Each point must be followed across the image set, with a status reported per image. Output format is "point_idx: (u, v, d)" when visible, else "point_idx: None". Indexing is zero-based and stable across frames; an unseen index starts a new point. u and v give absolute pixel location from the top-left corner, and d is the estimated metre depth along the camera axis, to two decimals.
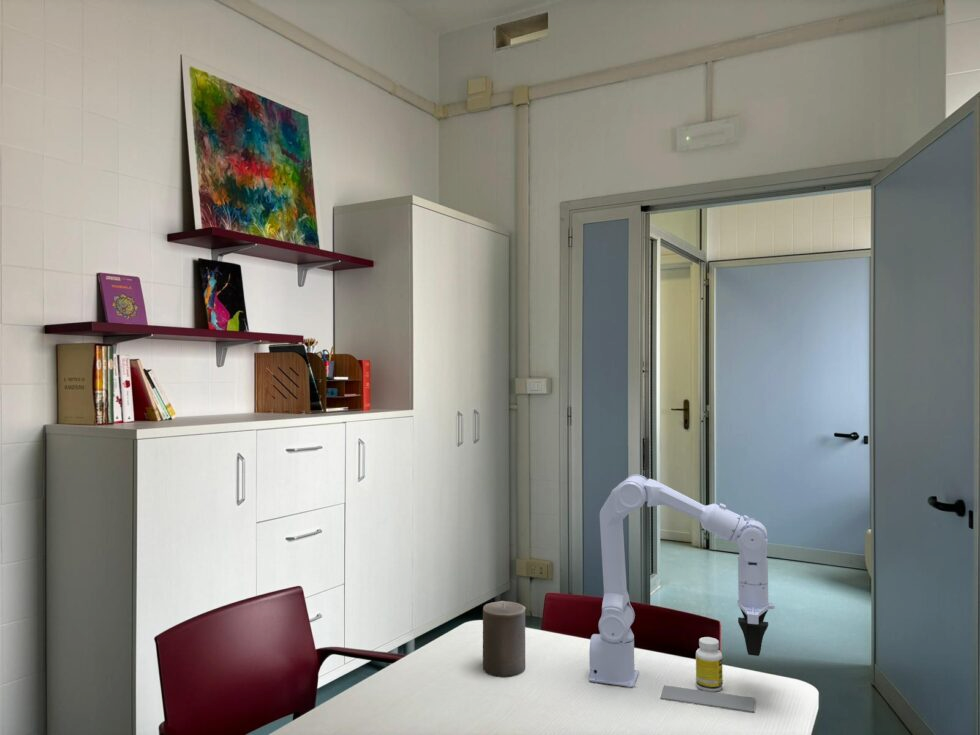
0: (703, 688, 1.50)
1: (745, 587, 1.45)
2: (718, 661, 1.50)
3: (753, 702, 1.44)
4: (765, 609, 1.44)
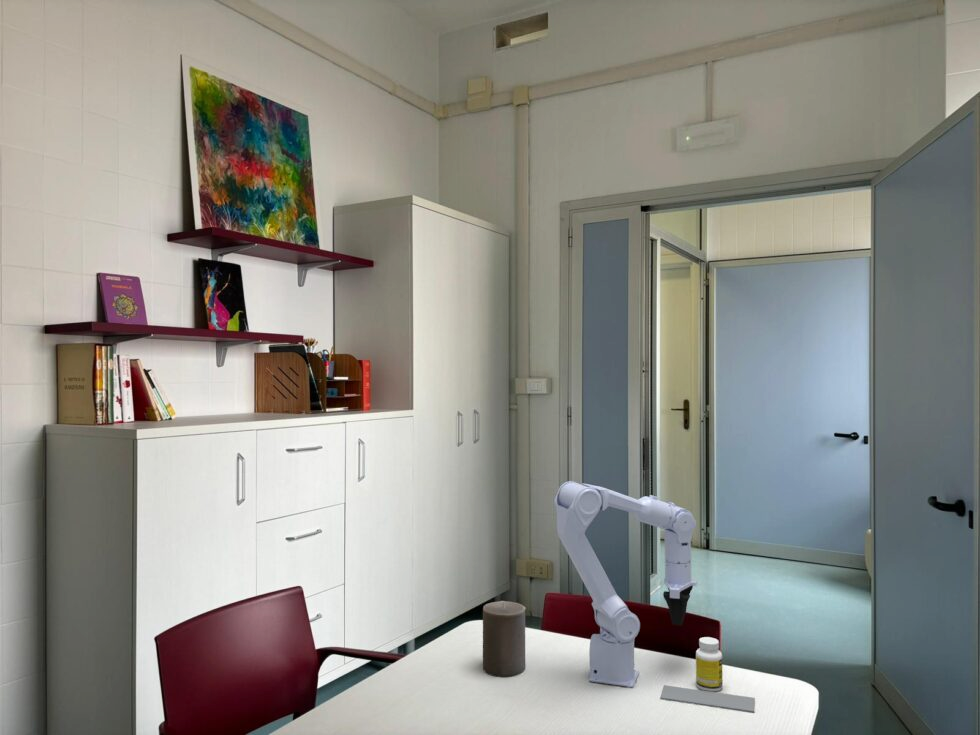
0: (703, 688, 1.50)
1: (670, 566, 1.60)
2: (718, 661, 1.50)
3: (753, 702, 1.44)
4: (687, 585, 1.59)
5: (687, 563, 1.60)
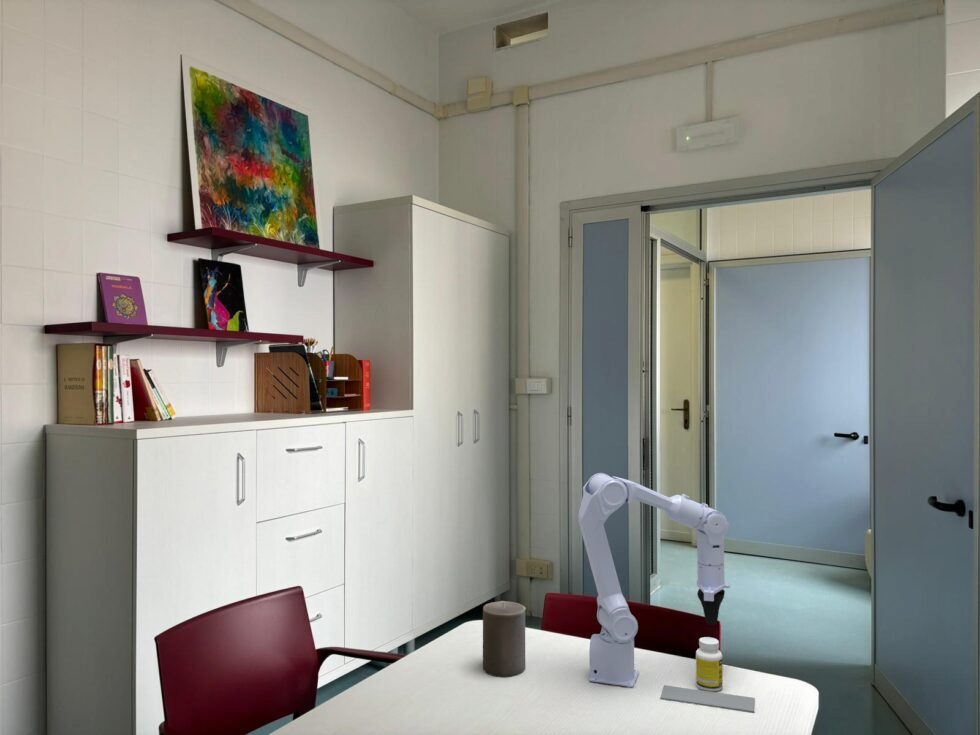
0: (703, 688, 1.50)
1: (703, 568, 1.59)
2: (718, 661, 1.50)
3: (753, 702, 1.44)
4: (721, 588, 1.57)
5: (720, 565, 1.58)
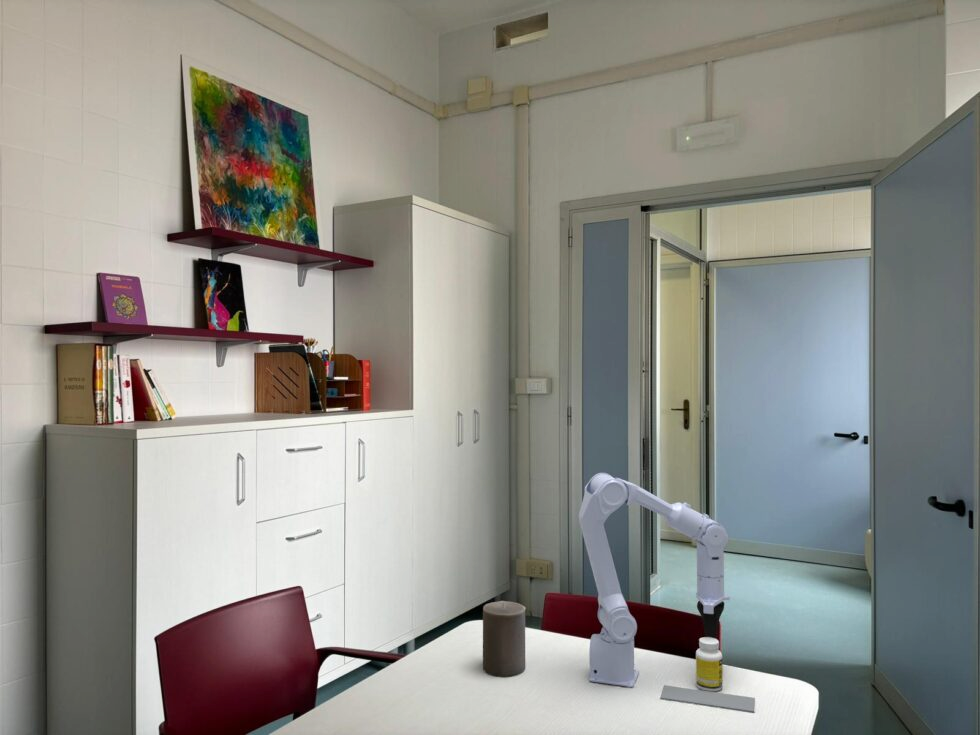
0: (703, 688, 1.50)
1: (702, 580, 1.57)
2: (718, 661, 1.50)
3: (753, 702, 1.44)
4: (720, 600, 1.56)
5: (720, 577, 1.57)
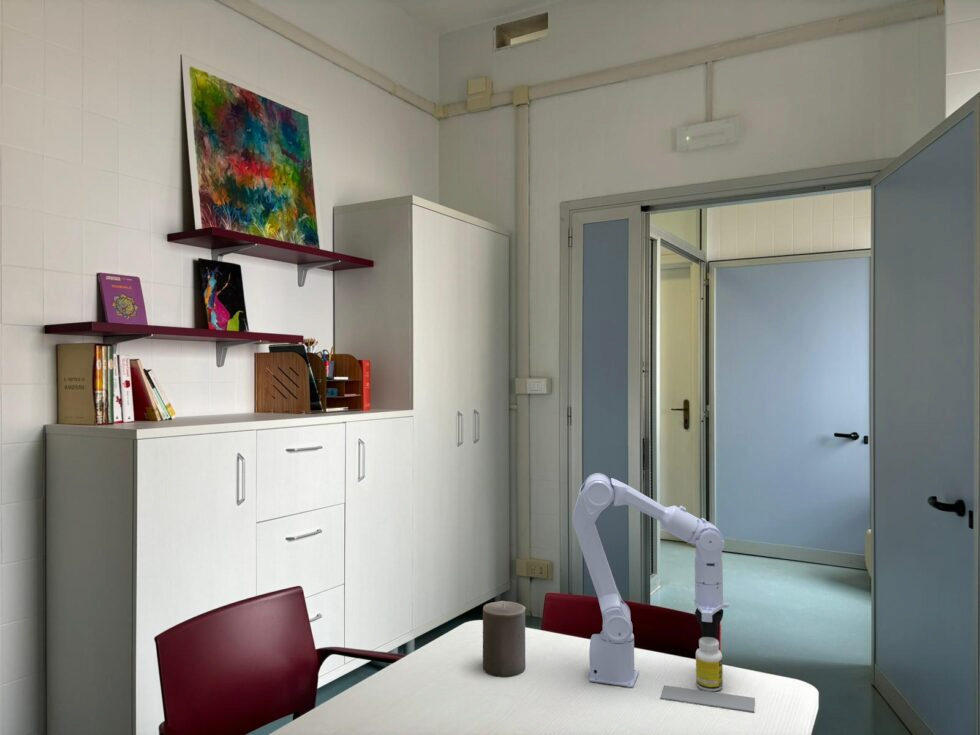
0: (703, 688, 1.50)
1: (701, 587, 1.52)
2: (718, 662, 1.49)
3: (753, 702, 1.44)
4: (719, 608, 1.51)
5: (719, 584, 1.52)
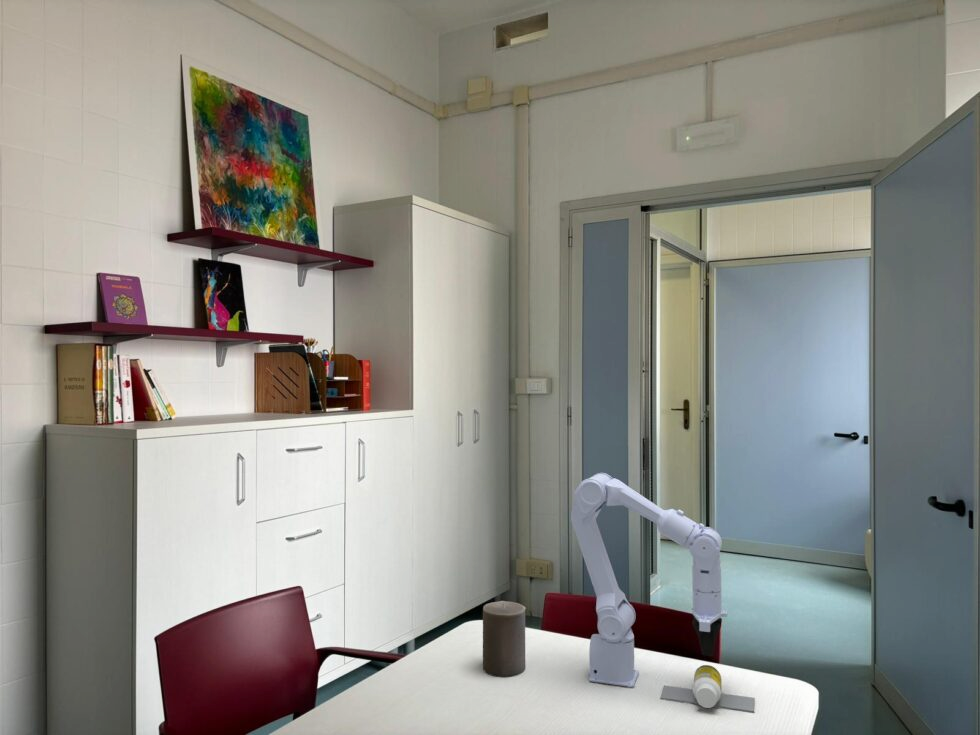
0: None
1: (698, 595, 1.47)
2: None
3: (753, 702, 1.44)
4: (718, 617, 1.46)
5: (717, 592, 1.47)
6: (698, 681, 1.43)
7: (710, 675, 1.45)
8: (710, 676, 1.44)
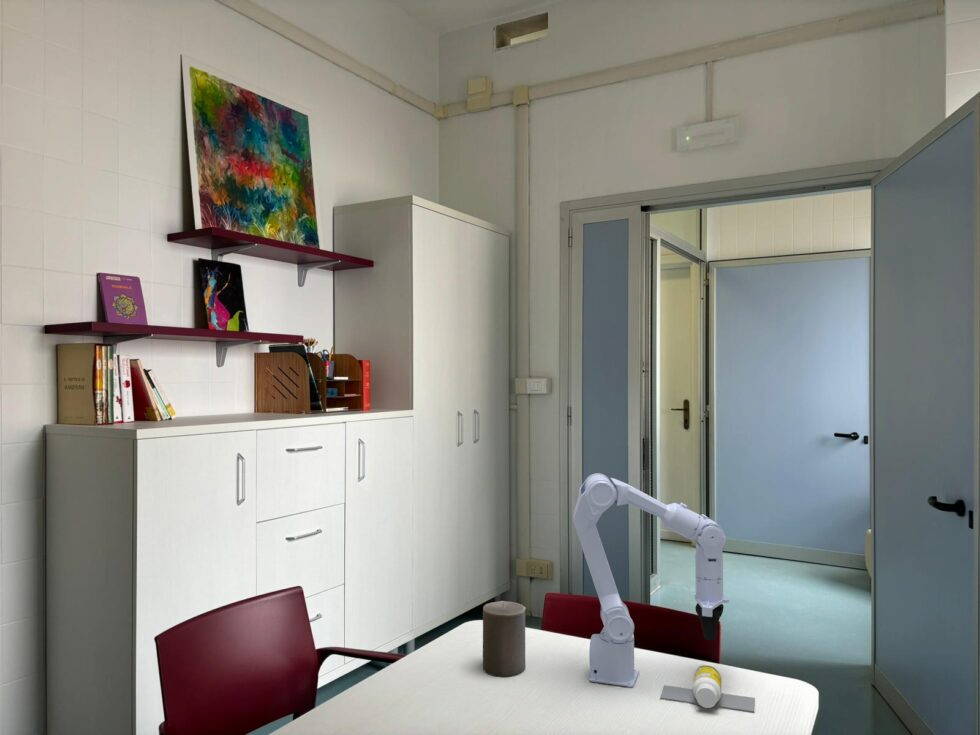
0: None
1: (701, 582, 1.54)
2: None
3: (753, 702, 1.44)
4: (719, 603, 1.53)
5: (719, 579, 1.53)
6: (698, 681, 1.43)
7: (710, 675, 1.45)
8: (710, 676, 1.44)
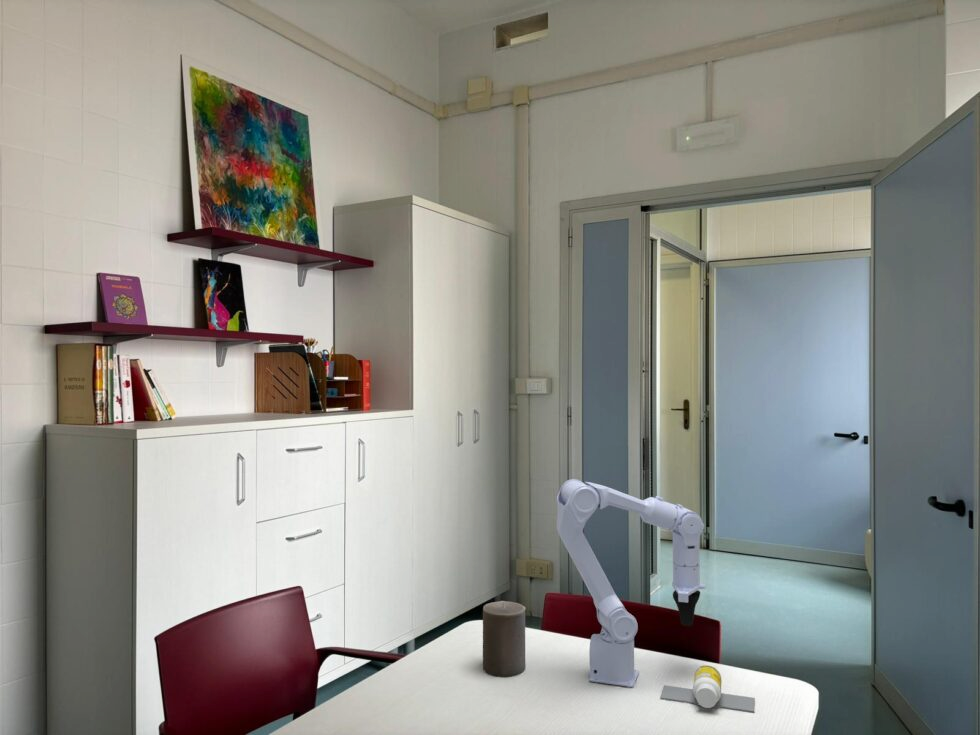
0: None
1: (678, 569, 1.58)
2: None
3: (753, 702, 1.44)
4: (696, 589, 1.56)
5: (696, 566, 1.57)
6: (698, 681, 1.43)
7: (710, 675, 1.45)
8: (710, 676, 1.44)
